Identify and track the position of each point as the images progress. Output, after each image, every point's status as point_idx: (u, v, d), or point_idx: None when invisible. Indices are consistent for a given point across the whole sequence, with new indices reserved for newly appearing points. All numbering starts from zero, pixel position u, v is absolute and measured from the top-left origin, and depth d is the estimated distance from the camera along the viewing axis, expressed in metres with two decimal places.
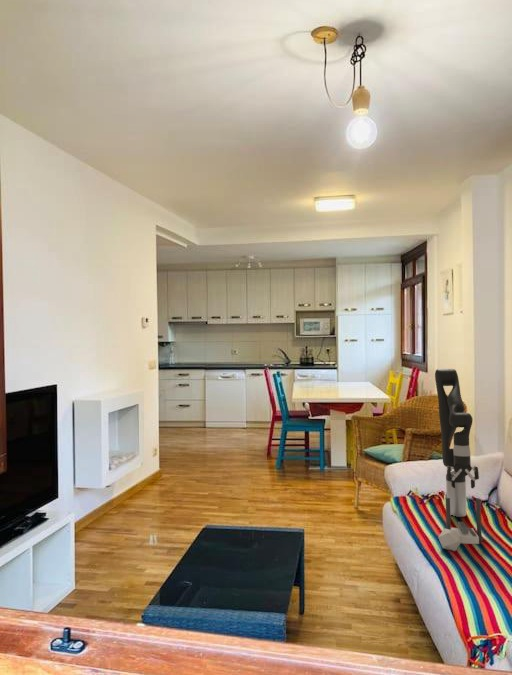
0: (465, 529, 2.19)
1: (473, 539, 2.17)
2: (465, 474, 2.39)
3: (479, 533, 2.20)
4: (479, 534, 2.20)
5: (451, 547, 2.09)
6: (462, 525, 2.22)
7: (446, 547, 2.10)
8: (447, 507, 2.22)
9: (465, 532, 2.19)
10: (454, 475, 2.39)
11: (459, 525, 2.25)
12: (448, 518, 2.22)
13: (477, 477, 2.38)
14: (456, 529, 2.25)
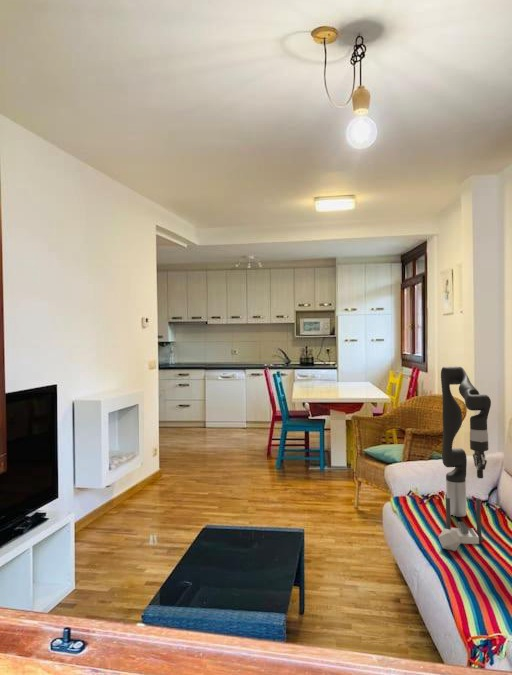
0: (465, 529, 2.19)
1: (473, 539, 2.17)
2: None
3: (479, 533, 2.20)
4: (479, 534, 2.20)
5: (451, 547, 2.09)
6: (462, 525, 2.22)
7: (446, 547, 2.10)
8: (447, 507, 2.22)
9: (465, 532, 2.19)
10: None
11: (459, 525, 2.25)
12: (448, 518, 2.22)
13: None
14: (456, 529, 2.25)
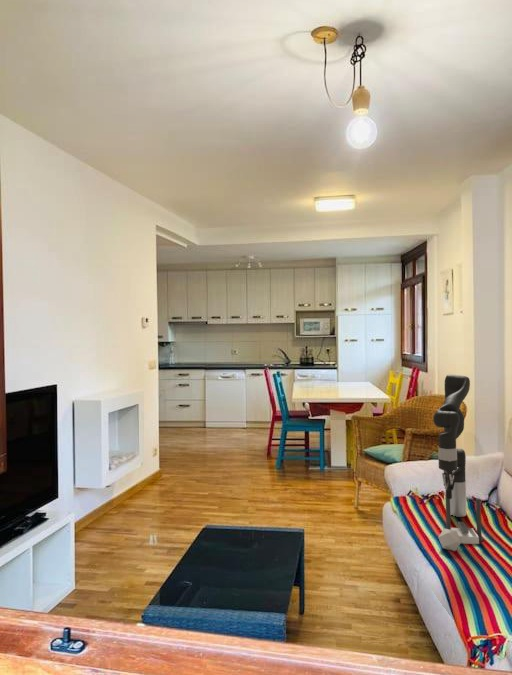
0: (465, 529, 2.19)
1: (473, 539, 2.17)
2: None
3: (479, 533, 2.20)
4: (479, 534, 2.20)
5: (451, 547, 2.09)
6: (462, 525, 2.22)
7: (446, 547, 2.10)
8: (447, 507, 2.22)
9: (465, 532, 2.19)
10: None
11: (459, 525, 2.25)
12: (448, 518, 2.22)
13: None
14: (456, 529, 2.25)
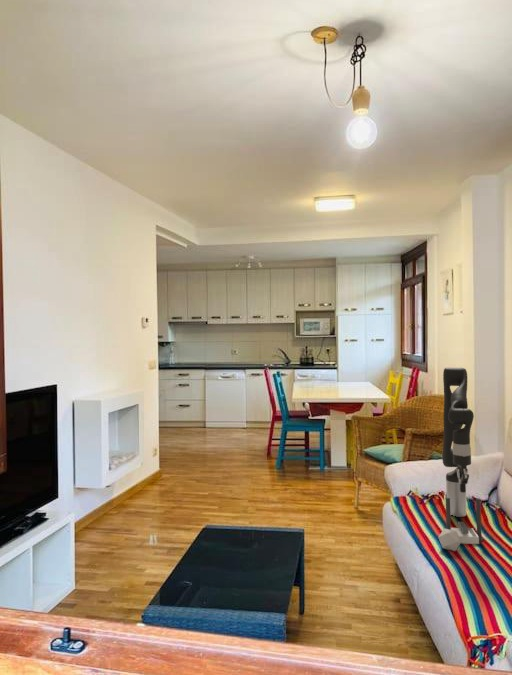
0: (465, 529, 2.19)
1: (473, 539, 2.17)
2: None
3: (479, 533, 2.20)
4: (479, 534, 2.20)
5: (451, 547, 2.09)
6: (462, 525, 2.22)
7: (446, 547, 2.10)
8: (447, 507, 2.22)
9: (465, 532, 2.19)
10: None
11: (459, 525, 2.25)
12: (448, 518, 2.22)
13: None
14: (456, 529, 2.25)
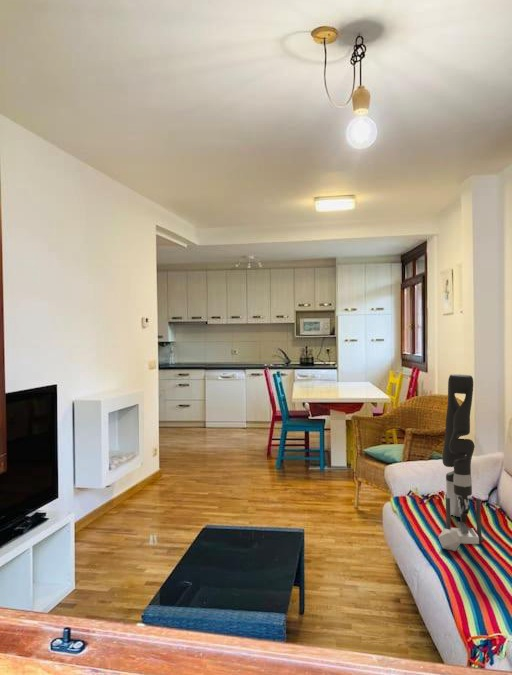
0: (465, 529, 2.19)
1: (473, 539, 2.17)
2: None
3: (479, 533, 2.20)
4: (479, 534, 2.20)
5: (451, 547, 2.09)
6: (462, 525, 2.22)
7: (446, 547, 2.10)
8: (447, 507, 2.22)
9: (465, 532, 2.19)
10: None
11: (459, 525, 2.25)
12: (448, 518, 2.22)
13: None
14: (456, 529, 2.25)
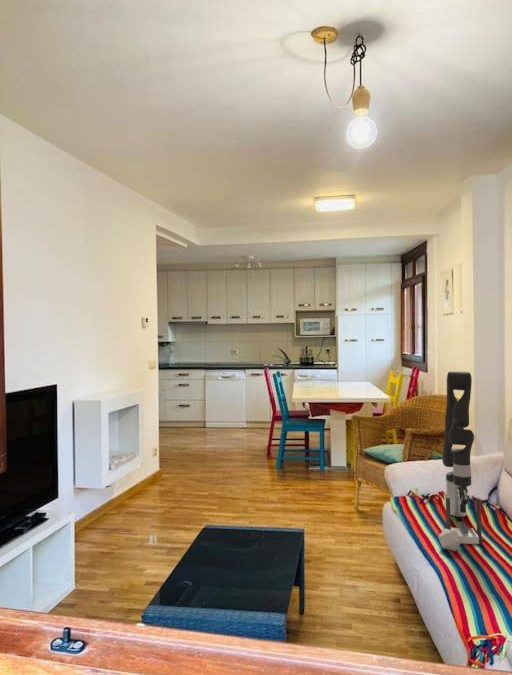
0: (465, 529, 2.19)
1: (473, 539, 2.17)
2: None
3: (479, 533, 2.20)
4: (479, 534, 2.20)
5: (451, 547, 2.09)
6: (462, 525, 2.22)
7: (446, 547, 2.10)
8: (447, 507, 2.22)
9: (465, 532, 2.19)
10: None
11: (459, 525, 2.25)
12: (448, 518, 2.22)
13: None
14: (456, 529, 2.25)
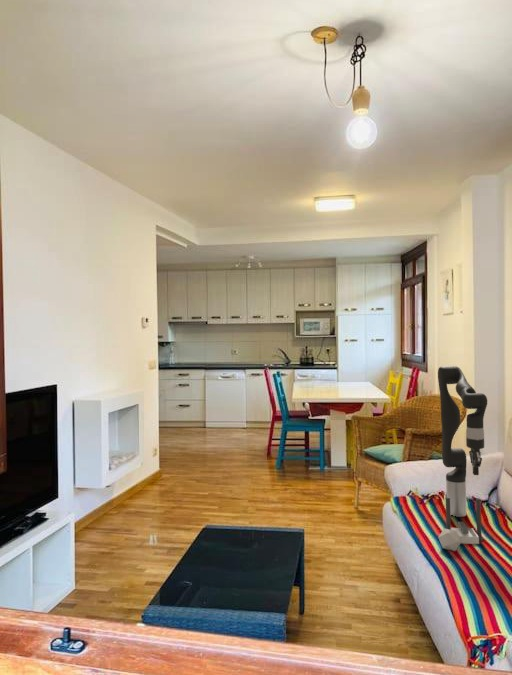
0: (465, 529, 2.19)
1: (473, 539, 2.17)
2: None
3: (479, 533, 2.20)
4: (479, 534, 2.20)
5: (451, 547, 2.09)
6: (462, 525, 2.22)
7: (446, 547, 2.10)
8: (447, 507, 2.22)
9: (465, 532, 2.19)
10: None
11: (459, 525, 2.25)
12: (448, 518, 2.22)
13: None
14: (456, 529, 2.25)
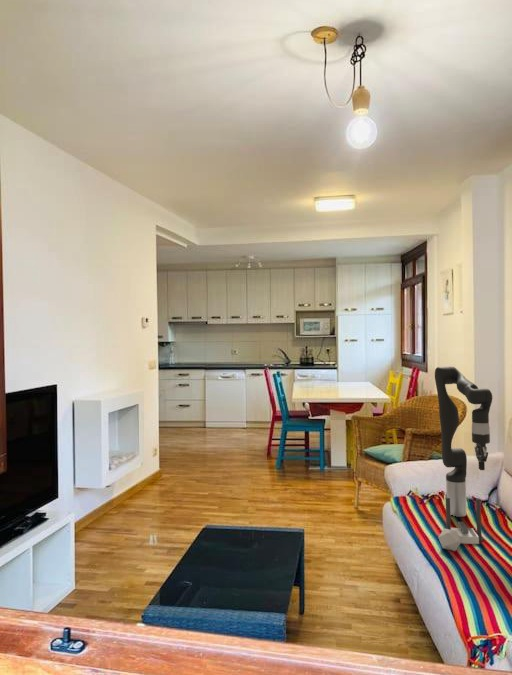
0: (465, 529, 2.19)
1: (473, 539, 2.17)
2: None
3: (479, 533, 2.20)
4: (479, 534, 2.20)
5: (451, 547, 2.09)
6: (462, 525, 2.22)
7: (446, 547, 2.10)
8: (447, 507, 2.22)
9: (465, 532, 2.19)
10: None
11: (459, 525, 2.25)
12: (448, 518, 2.22)
13: None
14: (456, 529, 2.25)
